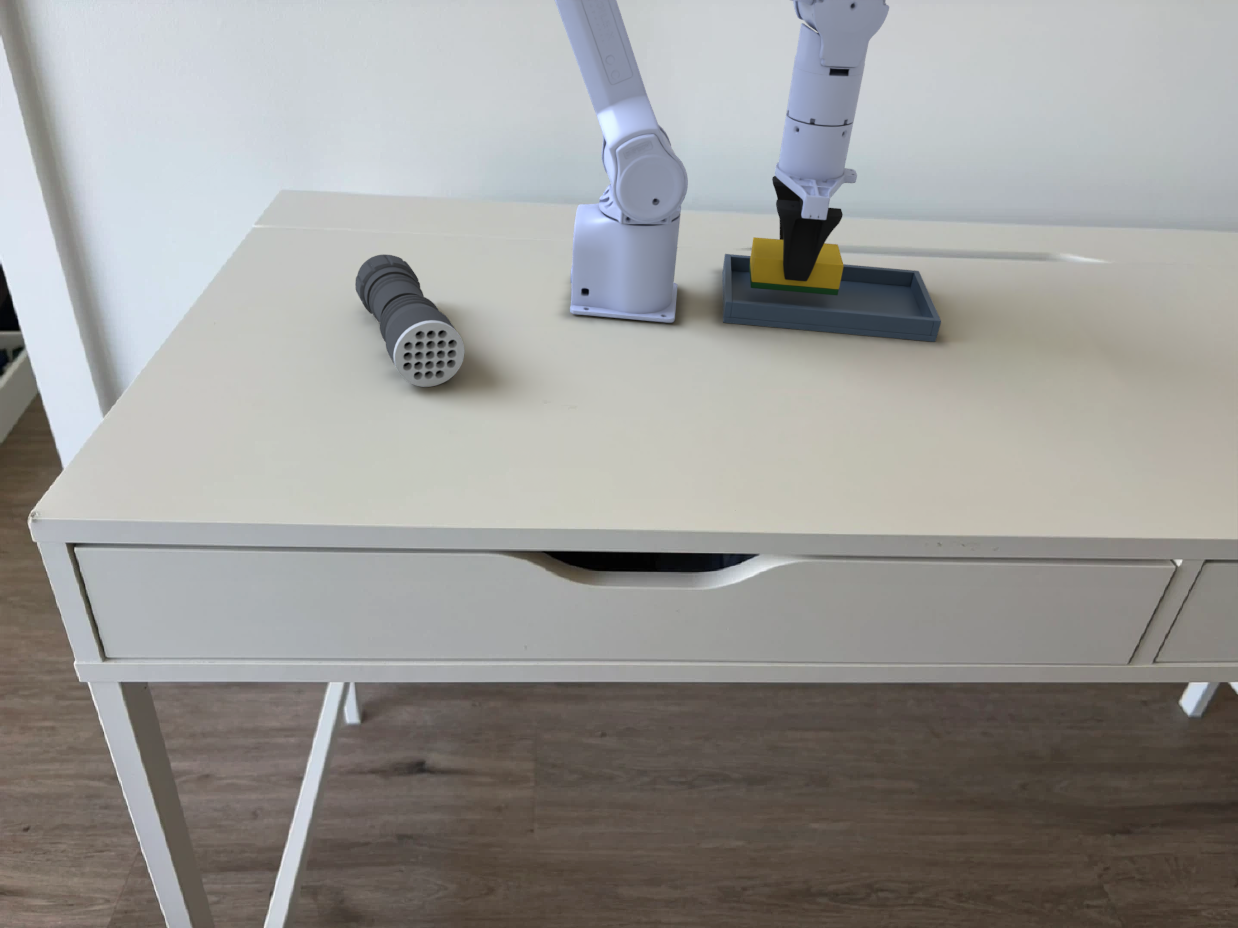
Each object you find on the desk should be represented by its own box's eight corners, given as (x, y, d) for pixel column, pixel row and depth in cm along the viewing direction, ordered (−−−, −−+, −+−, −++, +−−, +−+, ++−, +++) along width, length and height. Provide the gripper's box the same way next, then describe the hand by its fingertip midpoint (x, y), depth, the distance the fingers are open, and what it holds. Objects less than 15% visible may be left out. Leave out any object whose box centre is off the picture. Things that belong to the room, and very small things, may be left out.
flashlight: (353, 308, 82) (347, 251, 79) (413, 300, 85) (409, 243, 81) (397, 392, 71) (392, 328, 68) (465, 380, 73) (463, 318, 70)
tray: (722, 322, 84) (725, 301, 83) (722, 273, 94) (724, 253, 92) (935, 342, 84) (941, 321, 82) (913, 290, 93) (919, 270, 92)
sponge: (750, 288, 86) (755, 257, 84) (749, 266, 90) (753, 236, 88) (837, 295, 85) (844, 265, 84) (832, 273, 89) (838, 244, 88)
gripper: (879, 145, 73) (845, 304, 81) (856, 99, 85) (828, 241, 92) (789, 138, 73) (764, 297, 81) (779, 93, 85) (758, 235, 93)
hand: (793, 267), depth 87 cm, fingers closed on sponge, 5 cm apart
